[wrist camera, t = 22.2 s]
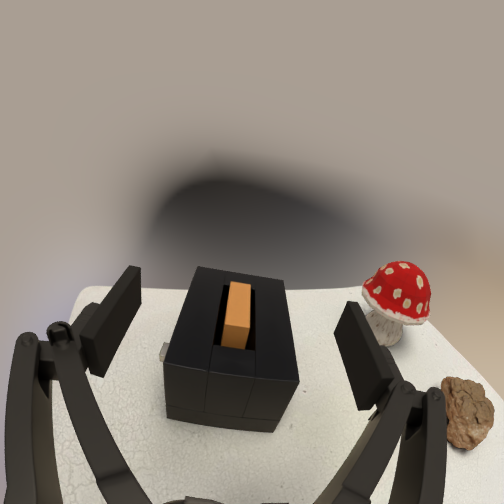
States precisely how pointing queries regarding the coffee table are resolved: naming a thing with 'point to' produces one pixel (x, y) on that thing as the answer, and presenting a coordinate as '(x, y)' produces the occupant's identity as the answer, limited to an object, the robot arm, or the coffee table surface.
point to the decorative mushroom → (396, 300)
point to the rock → (466, 412)
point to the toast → (237, 316)
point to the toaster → (230, 357)
